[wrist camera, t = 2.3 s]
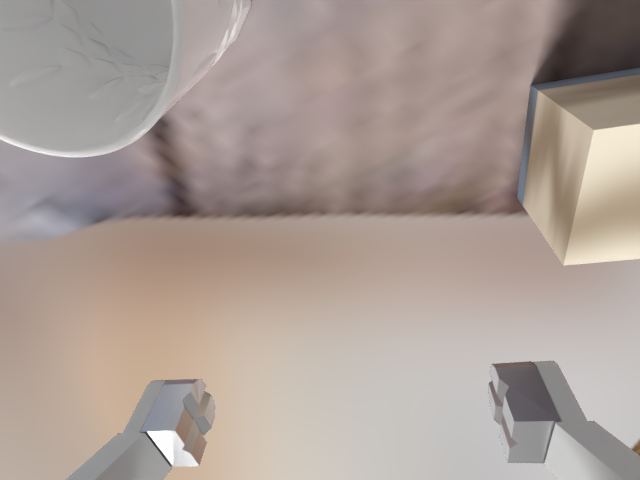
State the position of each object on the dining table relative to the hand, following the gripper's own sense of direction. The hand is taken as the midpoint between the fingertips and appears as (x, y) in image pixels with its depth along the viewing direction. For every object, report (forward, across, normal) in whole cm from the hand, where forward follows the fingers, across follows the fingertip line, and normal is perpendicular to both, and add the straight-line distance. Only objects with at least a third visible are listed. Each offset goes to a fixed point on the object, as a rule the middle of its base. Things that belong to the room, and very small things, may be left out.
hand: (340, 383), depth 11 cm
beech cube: (+13, -12, -1) cm, 18 cm away
